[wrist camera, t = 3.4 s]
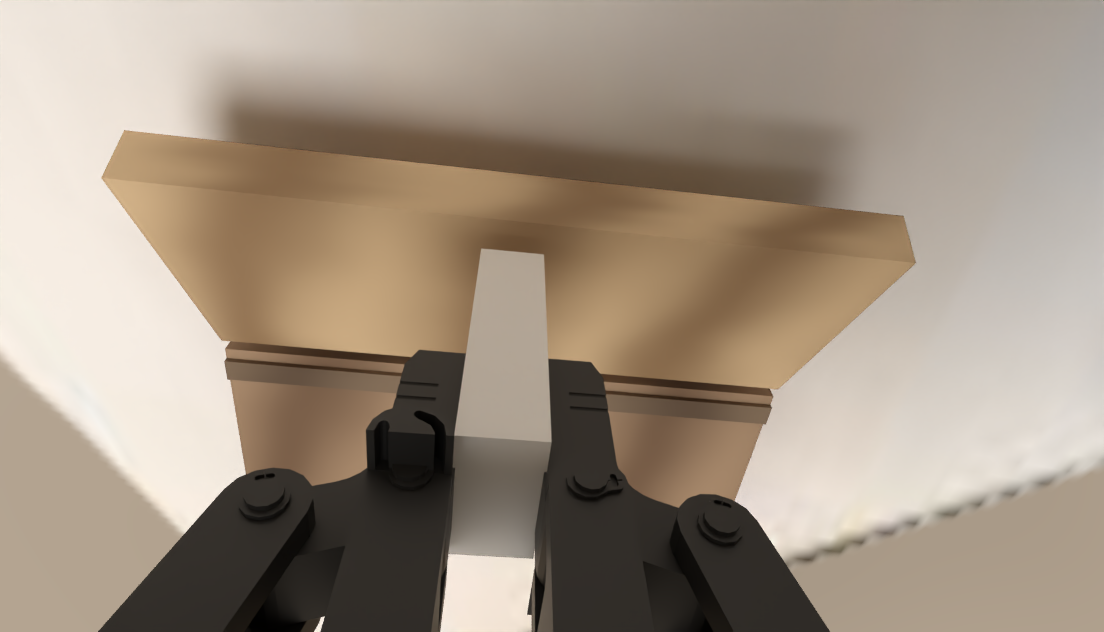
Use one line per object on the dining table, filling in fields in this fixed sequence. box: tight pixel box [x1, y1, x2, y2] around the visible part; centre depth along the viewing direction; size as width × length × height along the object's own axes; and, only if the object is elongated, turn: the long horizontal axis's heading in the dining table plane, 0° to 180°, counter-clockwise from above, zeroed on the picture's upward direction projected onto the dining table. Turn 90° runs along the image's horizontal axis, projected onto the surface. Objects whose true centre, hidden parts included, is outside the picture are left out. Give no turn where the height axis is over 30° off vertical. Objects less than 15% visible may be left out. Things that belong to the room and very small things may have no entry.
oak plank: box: [102, 130, 916, 389], centre depth 20 cm, size 20×9×2 cm, turn 83°
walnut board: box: [224, 341, 773, 508], centre depth 27 cm, size 20×9×2 cm, turn 83°
